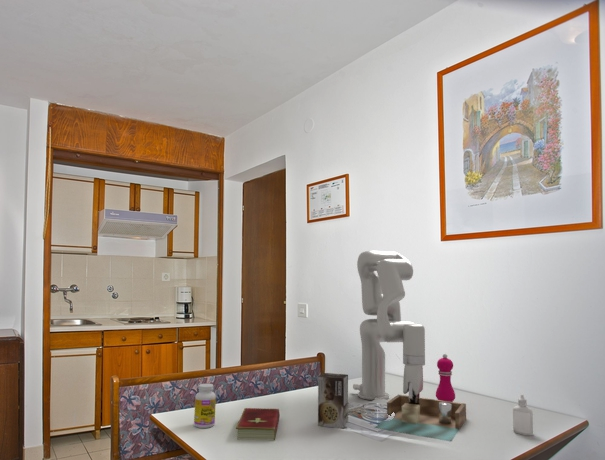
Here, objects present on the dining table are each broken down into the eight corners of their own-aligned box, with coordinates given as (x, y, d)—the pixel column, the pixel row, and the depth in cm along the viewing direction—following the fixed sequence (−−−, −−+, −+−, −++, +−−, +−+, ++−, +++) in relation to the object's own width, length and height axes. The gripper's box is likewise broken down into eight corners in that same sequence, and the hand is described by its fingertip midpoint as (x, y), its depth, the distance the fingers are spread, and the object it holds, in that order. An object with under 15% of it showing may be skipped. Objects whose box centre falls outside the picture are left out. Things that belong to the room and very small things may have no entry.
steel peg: (438, 422, 157) (438, 404, 158) (439, 419, 161) (439, 401, 161) (450, 424, 155) (450, 405, 156) (451, 421, 159) (452, 403, 160)
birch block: (401, 421, 158) (401, 406, 158) (405, 418, 162) (405, 403, 163) (416, 424, 155) (416, 408, 156) (420, 420, 160) (419, 404, 160)
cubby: (374, 430, 151) (374, 411, 152) (398, 411, 174) (398, 394, 174) (451, 444, 140) (450, 423, 140) (466, 421, 162) (465, 403, 163)
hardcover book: (279, 420, 162) (279, 407, 162) (275, 442, 141) (275, 427, 141) (244, 419, 162) (244, 407, 162) (235, 441, 141) (235, 426, 141)
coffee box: (348, 423, 158) (349, 374, 160) (344, 429, 152) (344, 378, 154) (322, 420, 161) (323, 372, 163) (317, 426, 155) (317, 375, 157)
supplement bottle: (198, 430, 149) (199, 388, 150) (191, 424, 155) (192, 384, 156) (218, 426, 153) (219, 386, 154) (210, 421, 158) (211, 382, 159)
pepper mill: (453, 405, 183) (452, 352, 185) (457, 410, 176) (456, 355, 178) (434, 404, 184) (433, 352, 186) (437, 409, 177) (437, 355, 179)
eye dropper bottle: (525, 436, 148) (524, 397, 149) (511, 431, 153) (510, 393, 154) (535, 435, 149) (534, 396, 151) (521, 429, 155) (519, 392, 156)
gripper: (409, 355, 173) (409, 407, 172) (397, 362, 160) (397, 417, 158) (429, 357, 170) (430, 410, 168) (419, 364, 157) (419, 421, 155)
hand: (414, 413), depth 163 cm, fingers closed
